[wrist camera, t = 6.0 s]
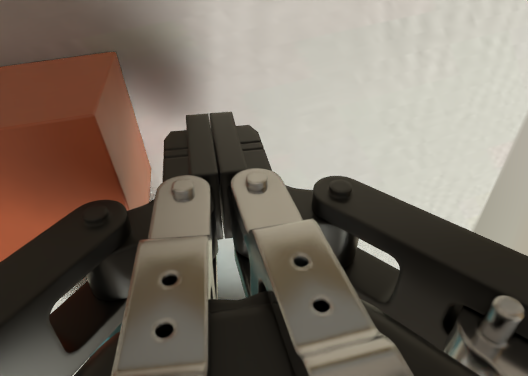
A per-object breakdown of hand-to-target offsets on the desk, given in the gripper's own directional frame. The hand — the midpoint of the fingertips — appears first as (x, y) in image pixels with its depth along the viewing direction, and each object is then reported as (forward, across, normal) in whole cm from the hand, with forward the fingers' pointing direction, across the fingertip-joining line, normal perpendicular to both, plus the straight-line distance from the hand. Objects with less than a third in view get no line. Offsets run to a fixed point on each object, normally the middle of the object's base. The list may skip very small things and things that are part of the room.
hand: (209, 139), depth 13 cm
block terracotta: (+1, +5, 0) cm, 5 cm away
